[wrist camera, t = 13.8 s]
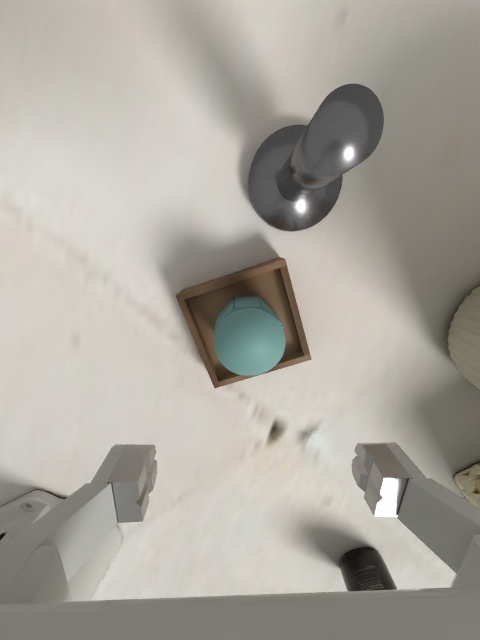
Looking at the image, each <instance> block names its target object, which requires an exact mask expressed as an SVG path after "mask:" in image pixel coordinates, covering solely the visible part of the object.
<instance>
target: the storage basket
mask: <svg viewBox="0 0 480 640" xmlns="http://www.w3.org/2000/svg"><path fill="white" fill-rule="evenodd" d="M454 480H455V482H456V484H457V486H458V487H459V488H460V489H461V491H462V493H463V495H464V496H465V497H466V499H467V501H468V502H470V503H471V504H473V505H474V506H476V507H478V508H479V509H480V463H479V464H475V465H473V466H472V467H471V468H468V469H466V470H464V471H462V472H460V473H458V474H456V475H455V478H454Z"/></svg>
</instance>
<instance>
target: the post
mask: <svg viewBox="0 0 480 640" xmlns="http://www.w3.org/2000/svg"><path fill="white" fill-rule="evenodd" d="M383 121H384V119H383V110H382V107H381V104H380V102H379V99H378V98H377V96H376V95H375V94H374V93H373V92H372V91H371V90H370V89H369V88H367V87H365V86H363V85H359V84H347V85H343V86H341V87H339V88H337V89H335V90H334V91H332V92H331V93H330V94H329V95H328V96H327V97H326V98H325V99H324V101H323V102H322V104H321V105H320V107H319V109H318V110H317V112H316V113H315V115H314V117H313V118H312V120H311V121H310V123H309V125H308V126H305V125H293V126H288V127H285V128H282V129H280V130H278V131H276V132H275V133H273V134H272V135H271V136H269V137H268V138H267V139H266V140H265V141H264V142H263V144H262V145H261V146H260V148H259V149H258V151H257V153H256V155H255V157H254V159H253V162H252V165H251V169H250V174H249V194H250V199H251V202H252V205H253V207H254V209H255V211H256V212H257V214H258V215H259V216H260V217H261V219H262V220H263V221H264V222H266V223H267V224H268V225H270V226H271V227H274V228H276V229H279V230H282V231H299V230H303V229H307V228H309V227H311V226H313V225H315V224H317V223H318V222H320V221H321V220H322V219H323V218H324V217H325V216H326V215H327V214H328V213H329V212H330V211H331V209H332V208H333V206H334V205H335V203H336V201H337V199H338V196H339V193H340V190H341V185H342V174H344V173H345V172H347V171H349V170H350V169H352V168H353V167H355V166H356V165H358V164H360V163H361V162H363V161H364V160H365V159H367V158H368V157H369V156H370V155H371V153H372V152H373V151H374V149H375V148H376V146H377V144H378V142H379V140H380V137H381V134H382V130H383Z"/></svg>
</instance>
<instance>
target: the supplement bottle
mask: <svg viewBox="0 0 480 640" xmlns="http://www.w3.org/2000/svg"><path fill="white" fill-rule="evenodd" d="M340 569H341V572H342V575H343V579H344V582H345V585H346V588H347V591H373V590H397V587H396V585H395V583H394V581H393V579H392V577H391V575H390V573H389V571H388V568H387V566H386V564H385V562H384V560H383V558H382V557H381V555H380V554H379V553H378V552H376V551H375V550H372V549H368V548H361V549H356V550H353V551H351V552H349V553H347V554H346V555H345V556H344V557H343V558H342V560H341V563H340Z"/></svg>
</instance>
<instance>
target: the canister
mask: <svg viewBox="0 0 480 640" xmlns="http://www.w3.org/2000/svg"><path fill="white" fill-rule="evenodd" d="M450 323H451V326H450V329H449V330H448V333H449V336H448V339H447V340H448V343H449V345H448V350H449V351H450V357H451V359H452V361H453V362H454V365H455V366H456V368H457V369H458V370H459V371H460V372H461V374H462V375H463V376H464V377H465V378H466V379H467V380H468V381H469V382H470V383H471V384H472V385H474V386H475V387H476V388H477V389H479V390H480V286H478V287H477V288H475V289H473V290H472V292H471V294H470V295H469V296H467V297H465V300H464V301H463V303H462V304H461V305H459V308H458V310H457V312H456V313H454V318H453V320H452V321H451V322H450Z"/></svg>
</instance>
